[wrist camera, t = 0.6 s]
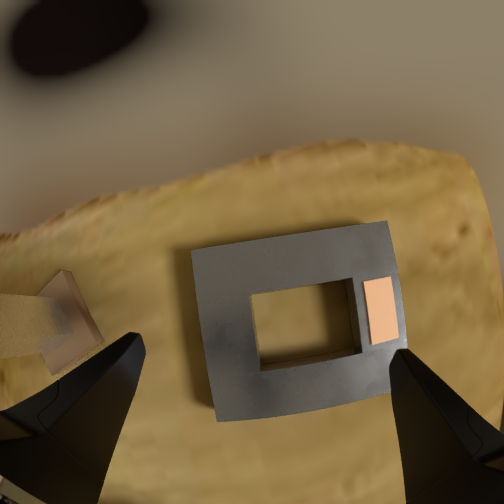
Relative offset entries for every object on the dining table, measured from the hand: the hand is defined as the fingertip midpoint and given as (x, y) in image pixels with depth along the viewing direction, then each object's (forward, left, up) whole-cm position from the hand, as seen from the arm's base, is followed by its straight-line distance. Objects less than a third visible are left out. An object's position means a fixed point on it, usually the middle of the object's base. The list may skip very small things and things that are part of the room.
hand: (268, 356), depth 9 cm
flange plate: (0, -3, -14) cm, 15 cm away
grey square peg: (+2, +21, -13) cm, 25 cm away
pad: (+2, +21, -14) cm, 26 cm away
